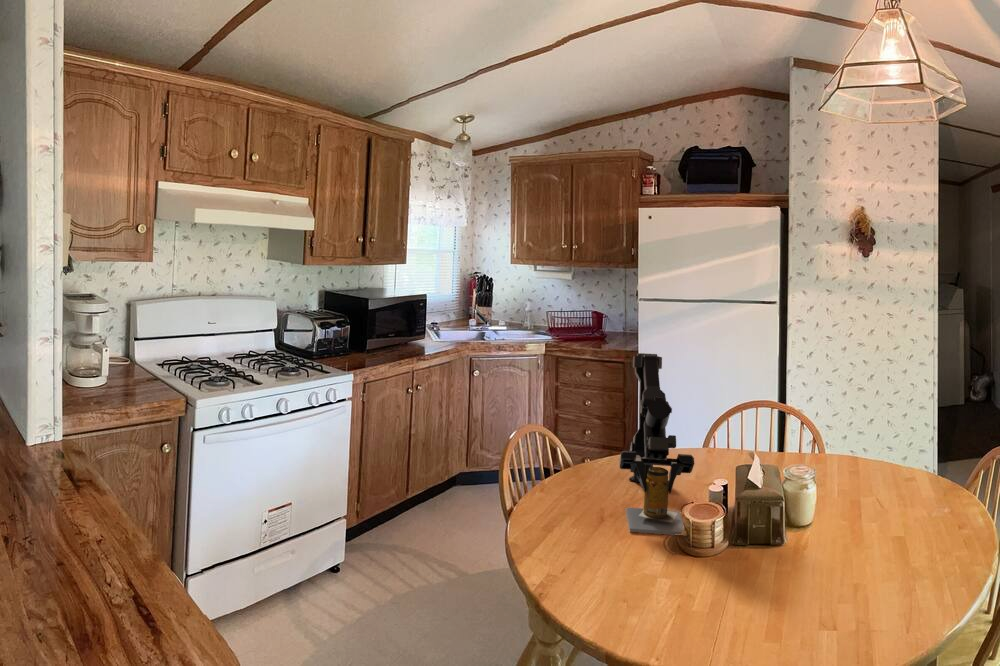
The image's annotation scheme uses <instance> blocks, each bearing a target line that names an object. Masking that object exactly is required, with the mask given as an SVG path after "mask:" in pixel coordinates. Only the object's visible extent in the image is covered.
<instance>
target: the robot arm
mask: <svg viewBox="0 0 1000 666" xmlns="http://www.w3.org/2000/svg"><path fill="white" fill-rule="evenodd" d="M632 368H634V375H635V376H636V379H637V380H638V382H639V387H638V389H639V391H638V393H639V396H638V397H639V398H638V399H639V400H638V429H637V431H636V433H635V434H634V435H633V437H632V439H633V440H632V441H631V443H630V449H629V450H622V451H621V452H620V455H619V469H621V470H628V471H630V473H633V475H632V476H630V477H629V478H628V481H632V482H636V483H639V484H640V485H641V489H642V491H643V492H644V493H645V492H646V481H645V480H646V478H647V472H648V471H647V470H648V469H649V468H650V467H654V466H664V467H665V466H668V467H670V468H669V469H670V470H669V471H668V481H669V493H668V495H669V494H671V493H672V490H673V487H674V484H675V479H676V478H677V476H681V475H682V474H690V473H692V471H693V469H694V465H695V457H694V456H693V454H685V453H684V454H682V453H678V454H677V456H676V458H671V457H670V458H668V456H669V455H670V449H676V448H677V436H676V435H671V434H670V435H668V436H667V434H666V428H667V425H668V423H669V422H668V421H669V418H670V415H671V414H672V413H673V407H672V406H671V405H670V404H669V403H670V402H669V401H667V397H666V394H665V392H664V391H663V390H661V387H660V386H661V385H660V384H661V383H660V370H661V369H663V356H659V355H658V354H657V353H640V352H638V353H637V354H636V355H634V356H633V357H632Z"/></svg>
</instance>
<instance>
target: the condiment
mask: <svg viewBox="0 0 1000 666" xmlns="http://www.w3.org/2000/svg"><path fill="white" fill-rule="evenodd" d="M647 471H648V472H647V478H646V480H645V481H646V492H644V496H643V509H644V510H643V511H642V512H641V513H640V515H639V516H642V517H646V518H650V519H658V520H662V521H668V522H672V521H673V520H674V519H675V517H676V515H677V514H678V513H676V512H671V511H667V510H668V505H669V470H668V469H667V468H664V467H661V466H653V467H650V468H649V469H648V470H647Z"/></svg>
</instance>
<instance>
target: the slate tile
mask: <svg viewBox="0 0 1000 666" xmlns="http://www.w3.org/2000/svg"><path fill="white" fill-rule="evenodd" d="M643 510H644V507H642V508H641V507H629V506H628V507H625V514H626V520H627V524H628V525H629V526H628V531H629V530H630V531H629V533H633V532H639V533H638V534H647V533H654V534H653V535H661V534H669V535H668V536H675V534H681V533H682V531H683V523H684V520H683V518H682V515H681V513H680V511H679V510H669V509H667V511H671V512H676V513H678V514H677V515H676V517H675V519H674V520H673V521H672V522H668V521H662V520H658V519H650V518H646V517H642V516H639V515H640V513H641V512H642V511H643Z"/></svg>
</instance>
